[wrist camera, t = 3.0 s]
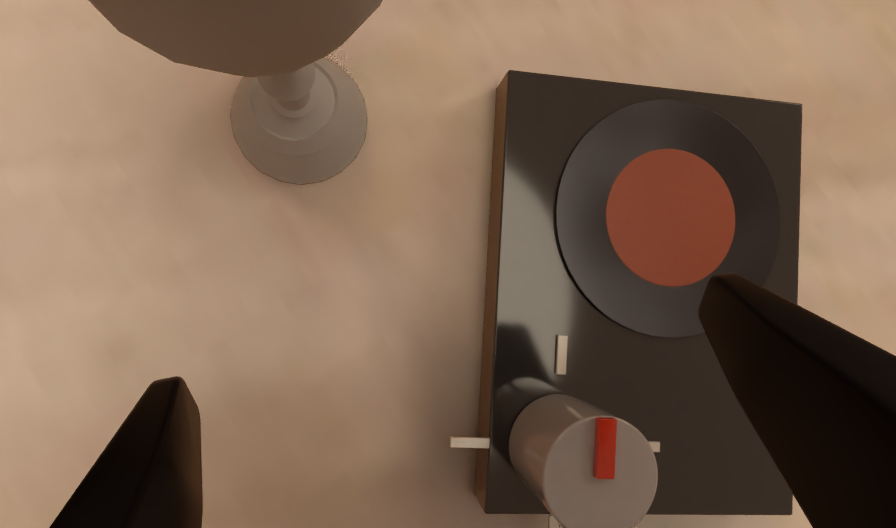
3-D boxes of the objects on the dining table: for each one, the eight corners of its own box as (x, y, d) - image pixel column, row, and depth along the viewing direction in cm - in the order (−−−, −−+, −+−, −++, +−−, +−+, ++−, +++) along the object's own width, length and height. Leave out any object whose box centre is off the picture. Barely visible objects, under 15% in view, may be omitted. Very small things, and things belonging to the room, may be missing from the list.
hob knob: (602, 495, 22) (661, 544, 18) (505, 494, 21) (542, 544, 17) (606, 395, 22) (666, 419, 18) (510, 391, 22) (548, 416, 17)
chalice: (177, 50, 22) (-505, -884, 5) (353, 2, 23) (351, -903, 6) (244, 237, 22) (-179, 26, 5) (416, 181, 24) (608, -165, 6)
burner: (773, 343, 23) (777, 343, 23) (548, 331, 22) (550, 331, 22) (780, 113, 24) (784, 111, 24) (560, 88, 22) (562, 86, 22)
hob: (757, 533, 25) (795, 555, 23) (435, 533, 23) (443, 557, 21) (769, 117, 26) (806, 101, 24) (461, 83, 24) (471, 62, 22)
